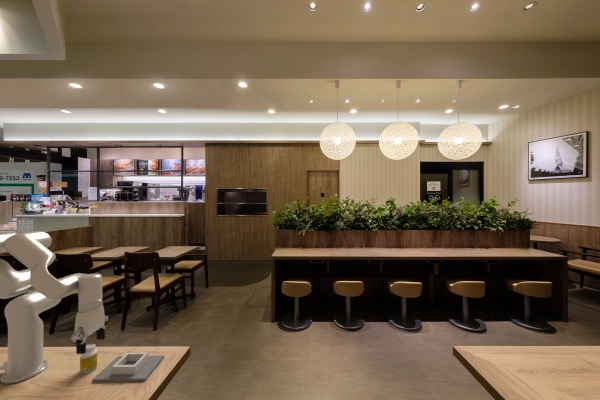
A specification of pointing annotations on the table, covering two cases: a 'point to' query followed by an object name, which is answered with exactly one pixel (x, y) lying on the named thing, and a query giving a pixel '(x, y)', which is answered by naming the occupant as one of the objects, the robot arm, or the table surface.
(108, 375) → the cup holder
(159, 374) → the table surface
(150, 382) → the table surface
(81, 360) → the supplement bottle
